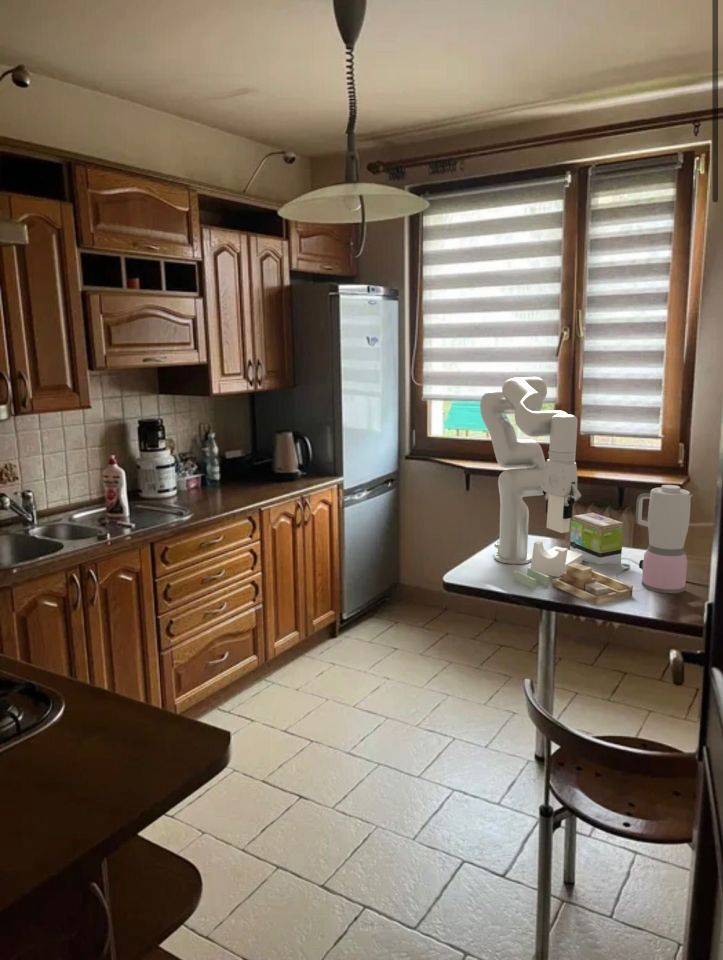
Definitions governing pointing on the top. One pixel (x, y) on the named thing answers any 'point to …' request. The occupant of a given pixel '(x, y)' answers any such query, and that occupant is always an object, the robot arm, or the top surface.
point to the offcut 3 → (596, 589)
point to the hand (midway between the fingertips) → (558, 514)
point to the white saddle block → (553, 559)
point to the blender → (665, 538)
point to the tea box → (597, 538)
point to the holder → (531, 578)
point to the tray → (614, 586)
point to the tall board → (557, 514)
